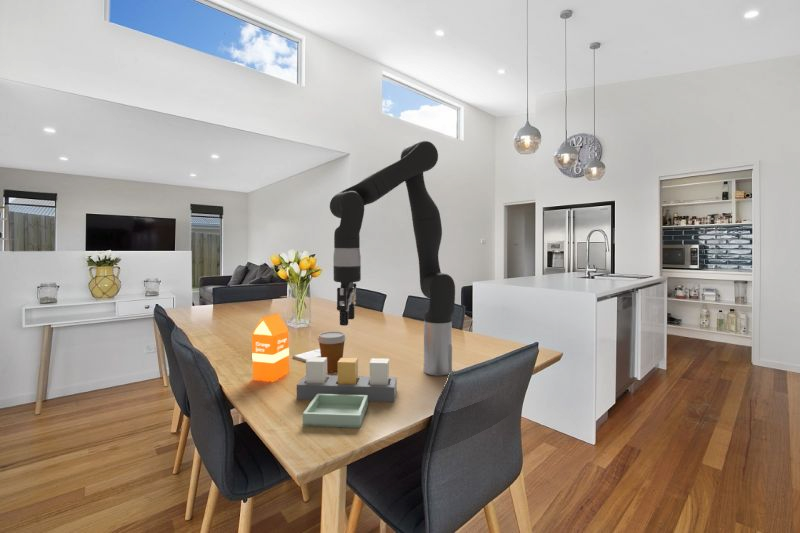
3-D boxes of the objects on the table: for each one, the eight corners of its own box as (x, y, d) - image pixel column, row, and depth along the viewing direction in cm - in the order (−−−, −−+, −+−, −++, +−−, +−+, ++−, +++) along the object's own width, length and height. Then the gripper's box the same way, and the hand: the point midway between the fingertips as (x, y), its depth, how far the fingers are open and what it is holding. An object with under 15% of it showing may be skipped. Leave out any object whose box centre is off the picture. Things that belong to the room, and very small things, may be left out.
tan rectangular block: (358, 392, 106) (357, 358, 106) (355, 397, 102) (355, 362, 102) (341, 391, 107) (340, 357, 106) (337, 397, 103) (337, 362, 102)
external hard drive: (292, 359, 139) (319, 352, 148) (306, 363, 134) (332, 355, 143) (292, 355, 139) (319, 348, 148) (306, 359, 133) (332, 351, 143)
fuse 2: (389, 392, 106) (389, 358, 105) (387, 398, 102) (387, 363, 101) (371, 392, 106) (371, 358, 106) (369, 398, 102) (369, 362, 102)
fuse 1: (327, 391, 107) (327, 357, 106) (323, 396, 103) (323, 361, 102) (310, 390, 107) (310, 357, 107) (306, 396, 103) (305, 361, 103)
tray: (367, 406, 97) (367, 395, 97) (360, 428, 85) (360, 415, 85) (317, 404, 98) (317, 393, 98) (302, 426, 86) (302, 413, 86)
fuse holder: (396, 390, 108) (396, 376, 107) (394, 401, 100) (394, 387, 99) (306, 387, 110) (306, 374, 109) (296, 399, 102) (296, 384, 101)
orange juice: (289, 372, 123) (288, 313, 122) (273, 382, 114) (272, 318, 113) (269, 370, 125) (268, 312, 124) (252, 379, 116) (250, 317, 115)
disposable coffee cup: (340, 374, 121) (340, 338, 120) (313, 372, 122) (312, 337, 122) (350, 365, 130) (349, 331, 129) (324, 363, 132) (324, 330, 131)
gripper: (355, 266, 95) (355, 327, 96) (364, 263, 109) (364, 317, 110) (327, 265, 96) (327, 327, 97) (339, 263, 110) (340, 317, 111)
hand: (347, 322), depth 103 cm, fingers open, 8 cm apart
